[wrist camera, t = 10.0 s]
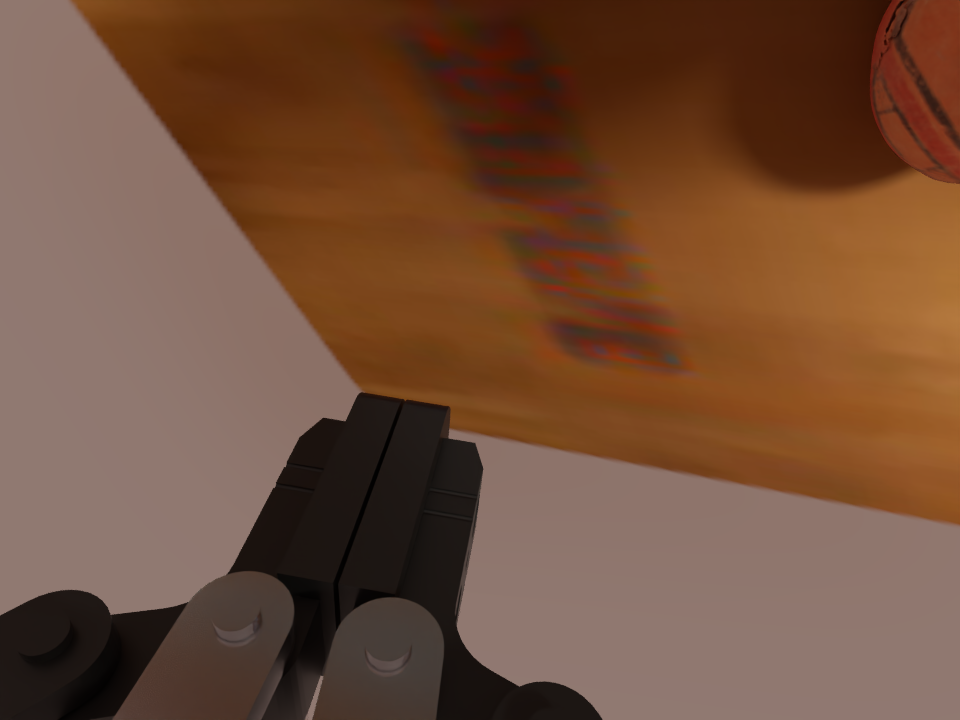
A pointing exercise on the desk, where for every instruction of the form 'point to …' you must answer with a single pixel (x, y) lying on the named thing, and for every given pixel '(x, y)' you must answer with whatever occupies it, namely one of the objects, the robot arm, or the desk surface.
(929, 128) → the pot
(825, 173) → the desk surface
